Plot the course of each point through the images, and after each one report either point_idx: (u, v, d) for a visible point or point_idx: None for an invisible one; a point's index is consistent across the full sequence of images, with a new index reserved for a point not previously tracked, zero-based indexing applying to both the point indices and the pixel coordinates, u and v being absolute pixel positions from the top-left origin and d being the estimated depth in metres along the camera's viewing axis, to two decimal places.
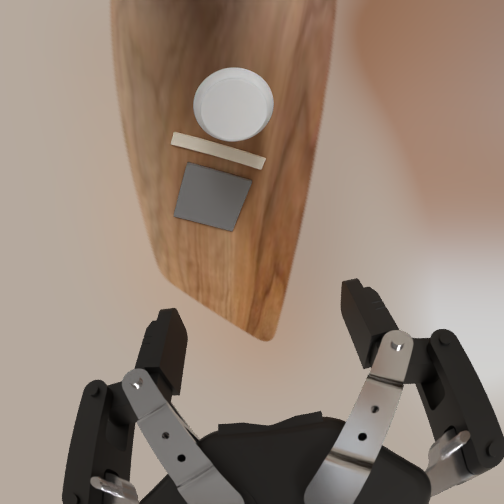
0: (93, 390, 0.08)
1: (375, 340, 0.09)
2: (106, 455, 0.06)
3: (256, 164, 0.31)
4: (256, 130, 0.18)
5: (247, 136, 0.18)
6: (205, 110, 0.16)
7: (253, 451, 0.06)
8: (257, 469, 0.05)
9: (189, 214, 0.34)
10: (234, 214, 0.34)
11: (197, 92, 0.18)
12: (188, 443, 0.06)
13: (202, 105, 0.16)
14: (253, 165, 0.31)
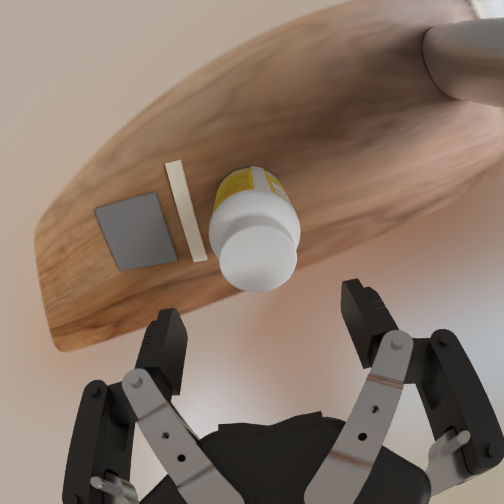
0: (93, 390, 0.08)
1: (375, 340, 0.09)
2: (106, 455, 0.06)
3: (196, 255, 0.29)
4: (248, 290, 0.17)
5: (237, 286, 0.17)
6: (242, 236, 0.15)
7: (253, 451, 0.06)
8: (257, 468, 0.05)
9: (106, 224, 0.26)
10: (136, 264, 0.29)
11: (251, 196, 0.17)
12: (188, 443, 0.06)
13: (247, 231, 0.15)
14: (193, 254, 0.29)
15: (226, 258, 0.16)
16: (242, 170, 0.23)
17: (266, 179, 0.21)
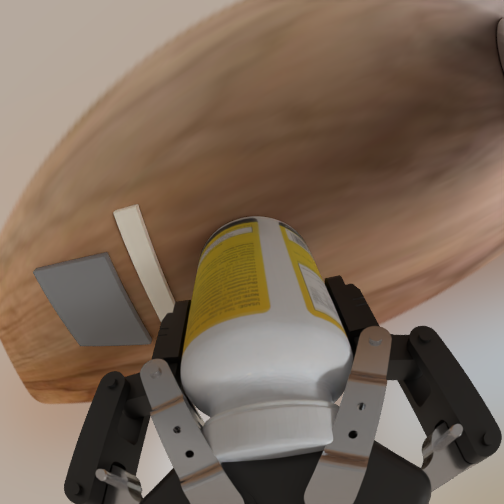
0: (110, 381, 0.08)
1: (354, 336, 0.09)
2: (115, 448, 0.07)
3: None
4: None
5: None
6: (249, 454, 0.05)
7: None
8: (257, 469, 0.05)
9: (50, 291, 0.16)
10: (98, 341, 0.19)
11: (265, 337, 0.07)
12: (199, 440, 0.06)
13: (259, 451, 0.05)
14: None
15: None
16: (242, 229, 0.13)
17: (289, 259, 0.11)
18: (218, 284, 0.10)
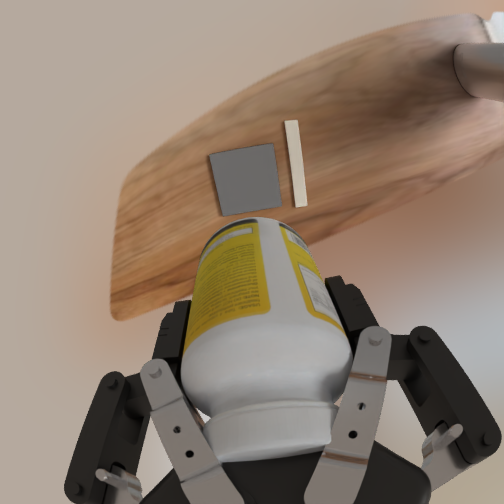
0: (110, 381, 0.08)
1: (354, 336, 0.09)
2: (115, 448, 0.07)
3: (299, 201, 0.34)
4: None
5: None
6: (249, 454, 0.05)
7: None
8: (257, 469, 0.05)
9: (219, 169, 0.31)
10: (242, 208, 0.34)
11: (265, 338, 0.07)
12: (198, 440, 0.06)
13: (259, 451, 0.05)
14: (296, 199, 0.33)
15: None
16: (242, 230, 0.13)
17: (289, 260, 0.11)
18: (218, 285, 0.10)
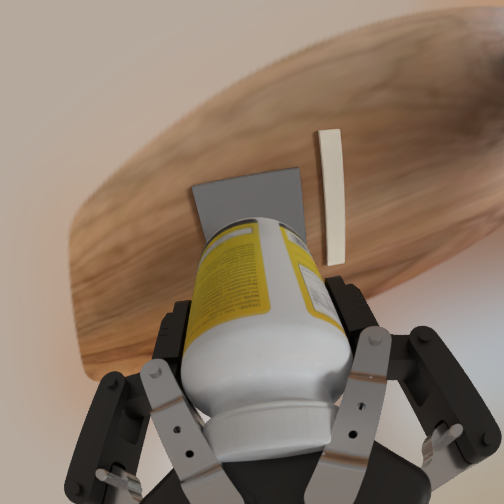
0: (110, 381, 0.08)
1: (354, 336, 0.09)
2: (115, 448, 0.07)
3: (333, 257, 0.22)
4: None
5: None
6: (249, 454, 0.05)
7: None
8: (257, 469, 0.05)
9: (209, 210, 0.19)
10: None
11: (265, 338, 0.07)
12: (198, 440, 0.06)
13: (259, 451, 0.05)
14: (330, 255, 0.22)
15: None
16: (242, 230, 0.13)
17: (289, 260, 0.11)
18: (218, 285, 0.10)
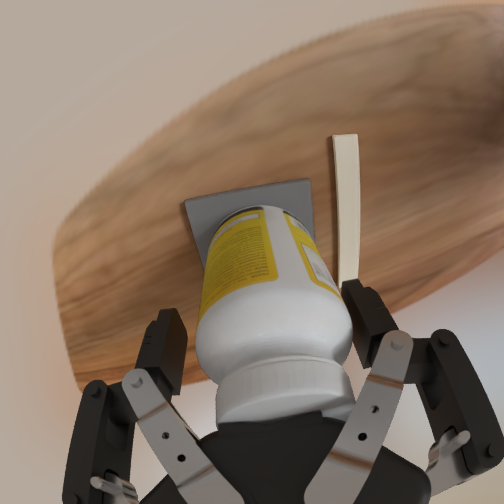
0: (93, 390, 0.08)
1: (375, 340, 0.09)
2: (106, 455, 0.06)
3: (345, 278, 0.19)
4: None
5: None
6: (262, 406, 0.07)
7: (253, 451, 0.06)
8: (257, 468, 0.05)
9: (205, 229, 0.17)
10: None
11: (274, 300, 0.09)
12: (188, 443, 0.06)
13: (272, 400, 0.06)
14: (341, 276, 0.19)
15: None
16: (249, 216, 0.14)
17: (293, 240, 0.12)
18: (230, 261, 0.11)
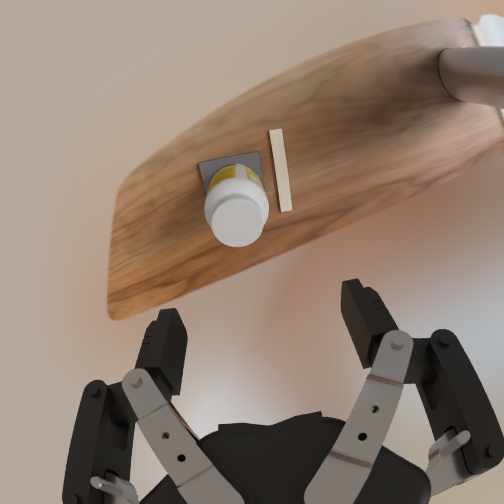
0: (93, 390, 0.08)
1: (375, 340, 0.09)
2: (106, 455, 0.06)
3: (284, 206, 0.36)
4: (231, 245, 0.25)
5: (223, 242, 0.25)
6: (226, 206, 0.23)
7: (253, 451, 0.06)
8: (257, 469, 0.05)
9: (208, 176, 0.33)
10: None
11: (233, 181, 0.25)
12: (188, 443, 0.06)
13: (229, 202, 0.23)
14: (281, 204, 0.36)
15: (216, 221, 0.24)
16: (228, 166, 0.31)
17: (245, 172, 0.28)
18: (219, 177, 0.27)
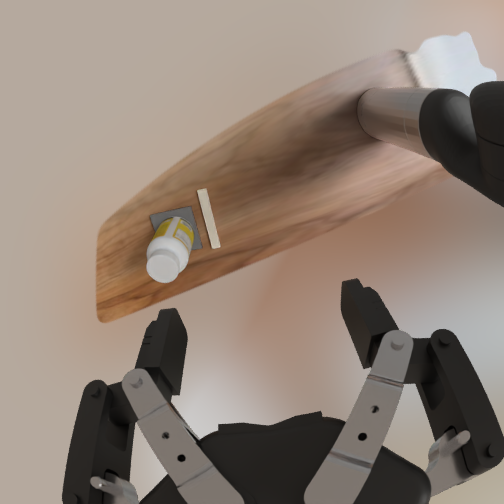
0: (93, 390, 0.08)
1: (375, 340, 0.09)
2: (106, 455, 0.06)
3: (213, 244, 0.48)
4: (160, 281, 0.37)
5: (156, 279, 0.37)
6: (153, 259, 0.35)
7: (253, 451, 0.06)
8: (257, 469, 0.05)
9: (157, 225, 0.45)
10: None
11: (161, 239, 0.37)
12: (188, 443, 0.06)
13: (155, 256, 0.35)
14: (212, 243, 0.48)
15: (149, 267, 0.36)
16: (168, 220, 0.43)
17: (175, 227, 0.41)
18: (157, 233, 0.40)
